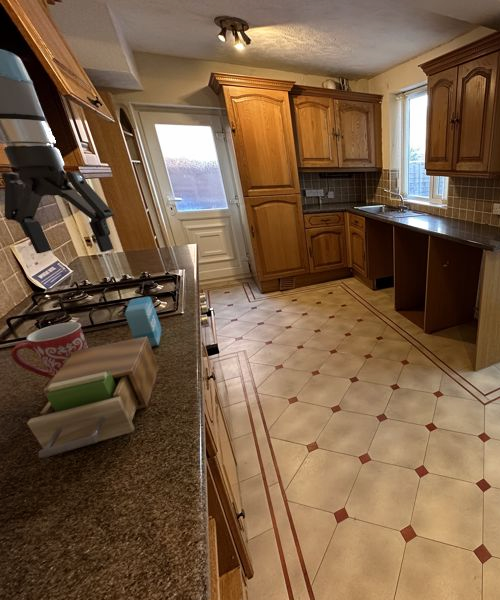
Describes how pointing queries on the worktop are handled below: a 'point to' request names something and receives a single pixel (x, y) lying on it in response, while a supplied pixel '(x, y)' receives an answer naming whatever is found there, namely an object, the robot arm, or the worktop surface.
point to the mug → (52, 347)
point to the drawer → (86, 421)
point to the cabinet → (115, 365)
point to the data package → (143, 320)
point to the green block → (81, 391)
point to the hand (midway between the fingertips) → (76, 251)
